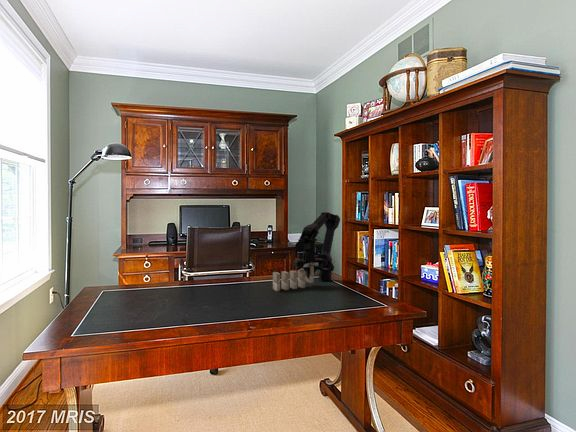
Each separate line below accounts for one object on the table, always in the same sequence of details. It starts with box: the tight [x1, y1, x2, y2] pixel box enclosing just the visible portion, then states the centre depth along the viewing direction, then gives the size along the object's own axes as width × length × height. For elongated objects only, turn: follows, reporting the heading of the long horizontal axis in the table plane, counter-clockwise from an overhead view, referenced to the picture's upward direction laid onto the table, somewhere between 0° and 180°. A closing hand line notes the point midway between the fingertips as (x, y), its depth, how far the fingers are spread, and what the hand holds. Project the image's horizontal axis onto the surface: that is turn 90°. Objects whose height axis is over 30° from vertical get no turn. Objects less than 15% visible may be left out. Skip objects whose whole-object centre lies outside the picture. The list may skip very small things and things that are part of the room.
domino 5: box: [306, 264, 315, 284], centre depth 210 cm, size 2×5×9 cm, turn 26°
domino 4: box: [297, 269, 307, 289], centre depth 208 cm, size 2×5×9 cm, turn 26°
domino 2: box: [280, 270, 290, 291], centre depth 204 cm, size 2×5×9 cm, turn 26°
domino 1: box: [272, 271, 281, 292], centre depth 201 cm, size 2×5×9 cm, turn 26°
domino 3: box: [289, 270, 298, 290], centre depth 206 cm, size 2×5×9 cm, turn 26°
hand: (309, 278), depth 210 cm, fingers closed on domino 5, 2 cm apart
